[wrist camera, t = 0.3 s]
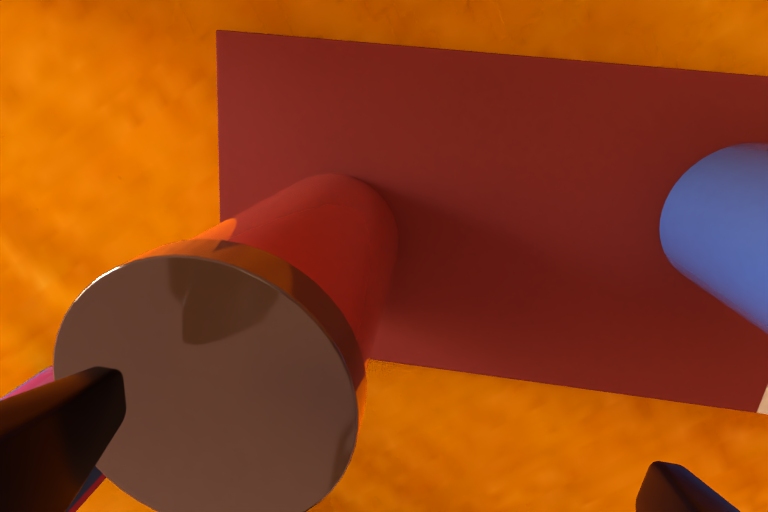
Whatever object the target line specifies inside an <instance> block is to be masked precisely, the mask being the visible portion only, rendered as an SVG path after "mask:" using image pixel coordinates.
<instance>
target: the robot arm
mask: <svg viewBox="0 0 768 512" xmlns="http://www.w3.org/2000/svg"><path fill="white" fill-rule="evenodd" d="M125 414H126V397H125V388H124V378H123V374H122V373H121V371H119V370H118V369H114V368H108V367H102V366H95V367H92V368H89V369H86V370H83V371H81V372H78V373H75V374H72V375H70V376H67V377H64V378H61V379H58V380H56V381H53V382H50V383H47V384H45V385H42V386H39V387H36V388H33V389H31V390H28V391H25V392H22V393H20V394H17V395H14V396H11V397H8V398H6V399H3V400H0V512H65V511H66V510H67V508H68V507H69V506H70V504H71V503H72V501H73V500H74V498H75V497H76V495H77V494H78V492H79V491H80V489H81V488H82V486H83V485H84V483H85V481H86V480H87V478H88V477H89V475H90V473H91V472H92V470H93V469H94V467H95V465H96V464H97V462H98V461H99V459H100V457H101V456H102V454H103V453H104V451H105V450H106V448H107V446H108V445H109V443H110V442H111V440H112V438H113V437H114V435H115V434H116V432H117V430H118V429H119V427H120V426H121V424H122V422H123V420H124V418H125ZM636 512H740V511H739V510H738V509H736V508H735V507H734V506H733V505H731V504H730V503H729V502H728V501H726V500H725V499H724V498H723V497H721V496H720V495H719V494H717V493H716V492H715V491H714V490H712V489H711V488H710V487H709V486H707V485H706V484H705V483H704V482H702V481H701V480H700V479H699V478H697V477H696V476H695V475H693V474H692V473H691V472H690V471H688V470H687V469H686V468H684V467H683V466H681V465H678V464H672V463H667V462H661V461H656V462H653V463H652V464H651V465H650V466H649V468H648V471H647V473H646V476H645V478H644V481H643V483H642V486H641V488H640V491H639V493H638V496H637V499H636Z"/></svg>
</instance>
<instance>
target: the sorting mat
mask: <svg viewBox="0 0 768 512" xmlns="http://www.w3.org/2000/svg"><path fill="white" fill-rule="evenodd" d="M216 48H217V96H218V144H219V191H220V223H221V222H223V221H225V220H227V219H229V218H231V217H233V216H234V215H236V214H238V213H240V212H242V211H244V210H246V209H247V208H249V207H251V206H253V205H255V204H257V203H259V202H261V201H262V200H264V199H266V198H268V197H270V196H272V195H274V194H275V193H277V192H279V191H281V190H283V189H285V188H287V187H288V186H290V185H292V184H294V183H296V182H298V181H300V180H302V179H304V178H306V177H309V176H312V175H316V174H322V173H339V174H344V175H348V176H351V177H355V178H357V179H359V180H361V181H363V182H365V183H367V184H368V185H370V186H371V187H372V188H374V189H375V190H376V191H377V192H378V193H379V194H380V195H381V196H382V197H383V198H384V199H385V200H386V202H387V203H388V205H389V206H390V208H391V210H392V211H393V213H394V216H395V218H396V221H397V224H398V228H399V235H400V249H399V255H398V259H397V263H396V266H395V270H394V273H393V277H392V281H391V284H390V288H389V291H388V295H387V299H386V302H385V306H384V309H383V313H382V317H381V320H380V324H379V327H378V331H377V335H376V338H375V342H374V345H373V349H372V353H371V356H370V359H373V360H381V361H388V362H395V363H402V364H409V365H417V366H424V367H431V368H438V369H445V370H453V371H460V372H467V373H474V374H481V375H489V376H496V377H503V378H510V379H517V380H525V381H532V382H539V383H546V384H553V385H561V386H568V387H575V388H582V389H589V390H596V391H604V392H611V393H618V394H625V395H632V396H640V397H647V398H654V399H661V400H668V401H676V402H683V403H690V404H697V405H704V406H712V407H719V408H726V409H733V410H740V411H748V412H755V413H756V412H757V413H762V414H768V335H767V334H766V333H764V332H763V331H761V330H760V329H759V328H757V327H756V326H754V325H753V324H751V323H750V322H749V321H747V320H746V319H744V318H743V317H742V316H740V315H739V314H737V313H736V312H734V311H733V310H732V309H730V308H729V307H727V306H726V305H724V304H723V303H722V302H720V301H719V300H717V299H716V298H714V297H713V296H712V295H710V294H709V293H707V292H706V291H704V290H703V289H702V288H700V287H699V286H697V285H696V284H695V283H693V282H692V281H690V280H689V279H687V278H686V277H685V276H683V275H682V274H681V273H679V272H678V271H677V270H676V269H675V268H674V267H673V265H672V264H671V263H670V262H669V260H668V258H667V257H666V255H665V253H664V250H663V248H662V244H661V240H660V230H659V229H660V218H661V213H662V209H663V206H664V204H665V201H666V199H667V197H668V195H669V193H670V191H671V190H672V188H673V187H674V185H675V184H676V182H677V181H678V180H679V179H680V178H681V176H682V175H683V174H684V173H685V172H686V171H687V170H688V169H690V168H691V167H692V166H693V165H694V164H696V163H697V162H698V161H700V160H701V159H703V158H705V157H706V156H708V155H710V154H712V153H714V152H716V151H718V150H720V149H723V148H726V147H729V146H733V145H737V144H742V143H752V142H761V143H768V76H756V75H744V74H732V73H720V72H709V71H697V70H685V69H673V68H661V67H649V66H638V65H626V64H614V63H602V62H590V61H578V60H567V59H555V58H543V57H531V56H519V55H507V54H496V53H484V52H472V51H460V50H448V49H436V48H425V47H413V46H401V45H389V44H377V43H366V42H354V41H342V40H330V39H318V38H306V37H295V36H283V35H271V34H259V33H247V32H235V31H224V30H216Z"/></svg>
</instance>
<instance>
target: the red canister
mask: <svg viewBox="0 0 768 512" xmlns="http://www.w3.org/2000/svg"><path fill="white" fill-rule="evenodd" d="M399 249H400V235H399V228H398V224H397V221H396V218H395V216H394V213H393V211H392V210H391V208H390V206H389V205H388V203H387V202H386V200H385V199H384V198H383V197H382V196H381V195H380V194H379V193H378V192H377V191H376V190H375V189H374V188H372V187H371V186H370V185H368V184H367V183H365V182H363V181H361V180H359V179H357V178H355V177H351V176H348V175H344V174H339V173H322V174H316V175H312V176H309V177H306V178H304V179H302V180H300V181H298V182H296V183H294V184H292V185H290V186H288V187H287V188H285V189H283V190H281V191H279V192H277V193H275V194H274V195H272V196H270V197H268V198H266V199H264V200H262V201H261V202H259V203H257V204H255V205H253V206H251V207H249V208H247V209H246V210H244V211H242V212H240V213H238V214H236V215H234V216H233V217H231V218H229V219H227V220H225V221H223V222H221V223H220V224H218V225H216V226H214V227H212V228H210V229H208V230H206V231H205V232H203V233H201V234H199V235H197V236H195V237H193V238H192V239H190V240H182V241H178V242H173V243H169V244H165V245H162V246H160V247H157V248H154V249H152V250H149V251H147V252H145V253H143V254H141V255H139V256H137V257H135V258H133V259H131V260H129V261H127V262H125V263H123V264H121V265H119V266H117V267H115V268H113V269H112V270H110V271H108V272H106V273H105V274H103V275H101V276H99V277H98V278H97V279H96V280H94V281H93V282H92V283H91V284H89V285H88V286H87V287H86V288H85V289H84V290H83V291H82V292H81V293H80V295H79V296H78V297H77V298H76V299H75V300H74V302H73V303H72V305H71V306H70V308H69V310H68V311H67V313H66V315H65V316H64V318H63V321H62V323H61V326H60V328H59V331H58V334H57V338H56V343H55V347H54V357H53V374H54V381H56V380H58V379H61V378H64V377H67V376H70V375H72V374H75V373H78V372H81V371H83V370H86V369H89V368H92V367H95V366H102V367H108V368H114V369H118V370H119V371H121V373H122V374H123V378H124V388H125V397H126V414H125V418H124V420H123V422H122V424H121V426H120V427H119V429H118V430H117V432H116V434H115V435H114V437H113V438H112V440H111V442H110V443H109V445H108V446H107V448H106V450H105V451H104V453H103V454H102V456H101V457H100V459H99V461H98V462H97V464H96V465H95V466H96V467H97V468H98V469H99V470H100V471H101V472H102V473H103V474H104V475H105V476H106V477H107V478H108V479H109V480H110V481H112V482H113V483H114V484H115V485H116V486H118V487H119V488H120V489H121V490H122V491H124V492H125V493H127V494H128V495H130V496H131V497H133V498H134V499H136V500H137V501H139V502H141V503H142V504H144V505H146V506H148V507H150V508H151V509H153V510H155V511H158V512H306V511H308V510H309V509H310V508H312V507H313V506H315V505H316V504H317V503H319V502H320V501H321V500H322V499H323V498H324V497H325V496H326V495H327V494H328V493H330V492H331V491H332V490H333V488H334V487H335V486H336V484H337V483H338V482H339V480H340V479H341V478H342V476H343V475H344V473H345V471H346V469H347V467H348V465H349V463H350V461H351V458H352V455H353V452H354V449H355V446H356V442H357V438H358V434H359V430H360V426H361V422H362V418H363V414H364V409H365V403H366V392H367V380H366V371H367V367H368V363H369V360H370V356H371V353H372V349H373V345H374V342H375V338H376V335H377V331H378V327H379V324H380V320H381V317H382V313H383V309H384V306H385V302H386V299H387V295H388V291H389V288H390V284H391V281H392V277H393V273H394V270H395V266H396V263H397V259H398V255H399Z"/></svg>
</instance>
